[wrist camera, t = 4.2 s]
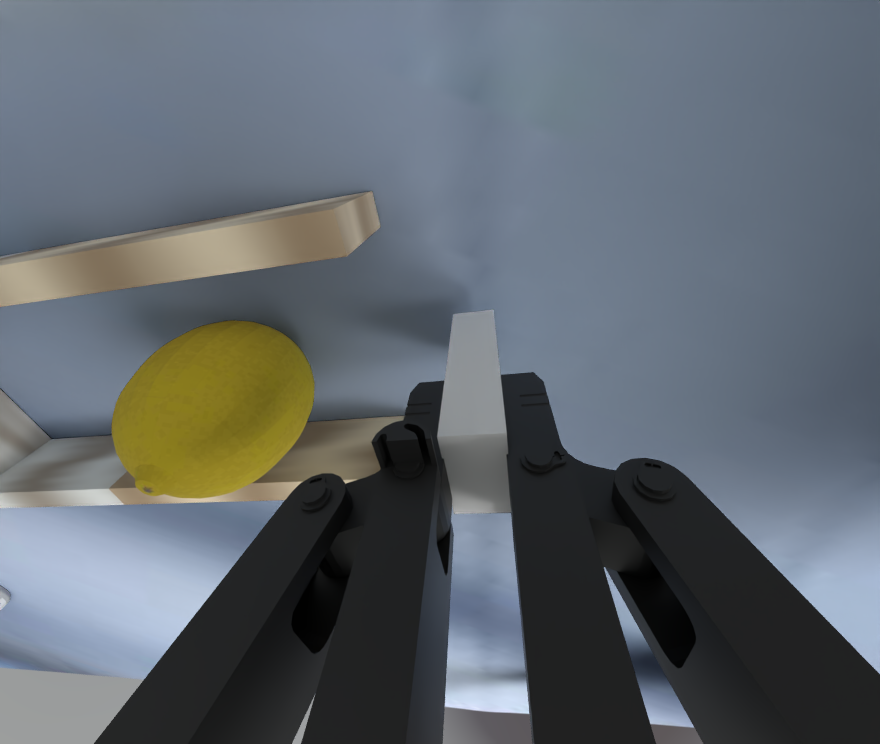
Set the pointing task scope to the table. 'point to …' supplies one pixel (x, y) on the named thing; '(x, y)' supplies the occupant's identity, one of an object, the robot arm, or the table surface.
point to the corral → (161, 261)
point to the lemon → (213, 410)
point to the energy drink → (4, 597)
